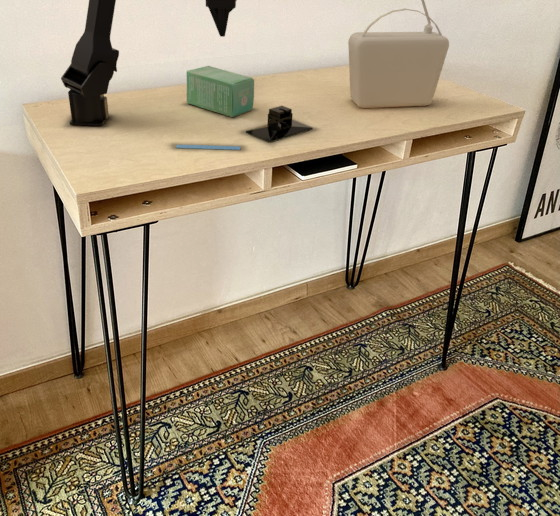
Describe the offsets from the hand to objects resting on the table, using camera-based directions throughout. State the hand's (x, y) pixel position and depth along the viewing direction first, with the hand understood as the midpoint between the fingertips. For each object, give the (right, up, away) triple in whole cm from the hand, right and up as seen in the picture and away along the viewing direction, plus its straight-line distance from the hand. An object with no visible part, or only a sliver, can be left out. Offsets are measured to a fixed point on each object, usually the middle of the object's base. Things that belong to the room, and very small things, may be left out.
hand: (222, 34), depth 141 cm
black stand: (+13, -25, -14) cm, 31 cm away
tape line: (-1, -30, -23) cm, 38 cm away
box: (0, -18, -3) cm, 18 cm away
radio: (+38, -14, +5) cm, 41 cm away
